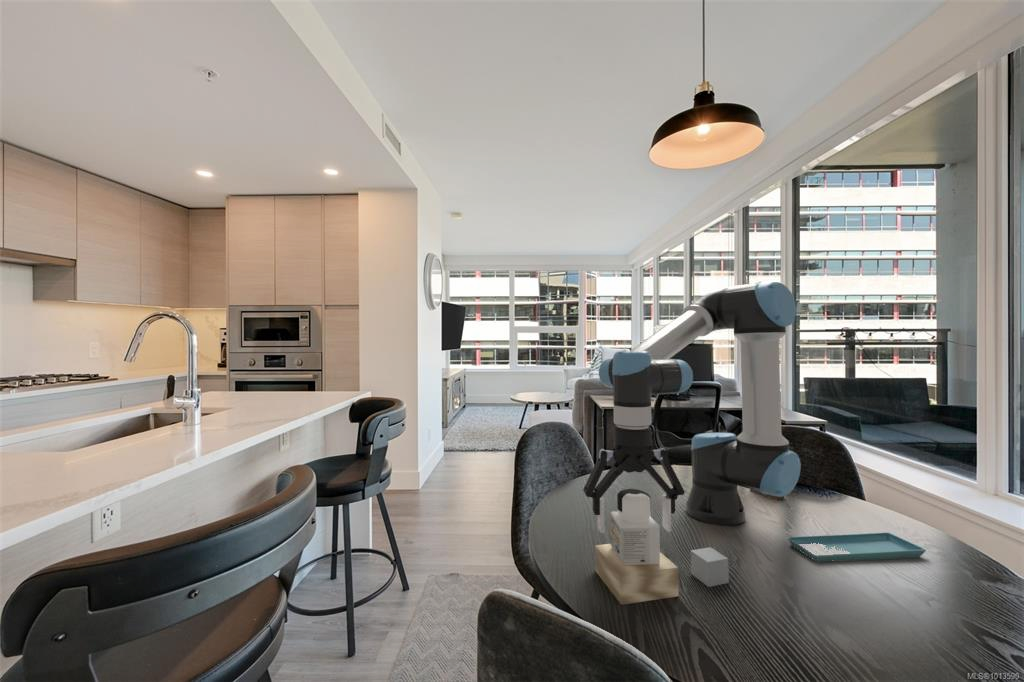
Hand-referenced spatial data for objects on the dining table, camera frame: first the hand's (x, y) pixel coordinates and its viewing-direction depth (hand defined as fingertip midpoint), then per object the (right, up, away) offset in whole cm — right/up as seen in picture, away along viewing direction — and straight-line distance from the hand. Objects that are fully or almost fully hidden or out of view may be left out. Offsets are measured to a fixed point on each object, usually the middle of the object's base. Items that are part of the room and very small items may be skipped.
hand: (634, 529), depth 84 cm
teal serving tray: (+55, -11, +12) cm, 57 cm away
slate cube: (+16, -11, +1) cm, 19 cm away
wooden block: (+58, -11, +49) cm, 77 cm away
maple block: (0, -11, 0) cm, 11 cm away
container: (0, -6, 0) cm, 6 cm away
